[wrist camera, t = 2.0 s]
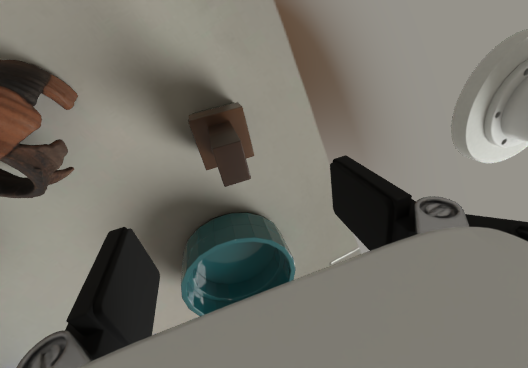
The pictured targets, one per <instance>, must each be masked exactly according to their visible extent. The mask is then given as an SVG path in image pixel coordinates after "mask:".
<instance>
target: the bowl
mask: <svg viewBox="0 0 528 368" xmlns="http://www.w3.org/2000/svg"><path fill="white" fill-rule="evenodd" d="M294 275H295V265H294V260H293V257H292V255H291V253H290V251H289V249H288V247H287V245H286V243H285V241H284V239H283V237H282V235H281V233H280V231H279V230H278V229H277V227H276V226H275V225H274V223H272V222H271V221H269V220H267V219H266V218H264V217H262V216H259V215H255V214H251V213H232V214H227V215H224V216H221V217H218V218H215V219H213V220H211V221H209V222H208V223H206V224H204V225H203V226H201V227H200V228H199V229H197V230H196V232H195V233H194V234H193V235H192V236H191V237H190V239H189V240H188V241H187V244H186V247H185V250H184V252H183V262H182V277H181V291H182V298H183V300H184V302H185V303H186V305H187V307H188V308H189V309H190V310H191V311H193V312H194V313H196V314H197V315H199V316H203V315H205V314H208V313H210V312H213V311H215V310H218V309H220V308H223V307H225V306H228V305H231V304H233V303H236V302H238V301H241V300H243V299H246V298H249V297H251V296H254V295H256V294H259V293H261V292H264V291H267V290H269V289H272V288H274V287H277V286H279V285H282V284H285V283H287V282H290V281H292V280H293V279H294Z"/></svg>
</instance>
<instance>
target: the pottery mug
mask: <svg viewBox="0 0 528 368" xmlns="http://www.w3.org/2000/svg"><path fill="white" fill-rule="evenodd" d="M41 93H42V94H44V95H46V96H47V97H49V98H51V99H52V100H54V101H55V102H57V103H58V104H59V105H61V106H62V107H63V108H64V109H66V110H69V109H71V108H72V107H73V106H74V102H75V101H76V99H77V97H78V95H77V93H76V92H75V91H74V90H73V89H72V88H71V87H70V86H68V85H67V84H66V83H64V82H63V81H62V80H60V79H58V78H57V77H55V76H54V75H52V74H50V73H49V72H47V71H45V70H43V69H41V68H39V67H37V66H35V65H32V64H28V63H25V62H22V61H17V60H0V160H1V161H3V162H4V163H6V164H8V165H10V166H12V167H13V168H15V169H17V170H19V171H20V172H22V173H23V174H24V175H26V176H27V177H28V178H22V177H18V176H15V175H13V174H11V173H9V172H7V171H4V170H2V169H0V196H1V197H9V198H33V197H37V196H40V195H42V194H44V193H45V191H46V189H47V186H48V185H50V184H53V183H56V182H58V181H60V180H62V179H63V178H65V177H66V176H68V175H69V174H70V173H71V172H72V171H73V170H74V168H73V167H69V168H66V169H63V170H57V169H59V168H60V166H61V165H62V163H63V159H64V156H65V155H66V154H67V153H68V149H67V147H66V145H65V143H64V142H63V141H62V140H60V139H59V140H56V141H54V142H52V143H51V144H50V145H47V144H44V145H22V144H19V143H20V142H21V141H22V140H24V139H25V138H26V137H27V136H28V135H30V134H31V133H32V132H33V131H35V130H37V129H38V128H40V126H41V121H42V119H41V115H40V114H39V113H38V111H37V110H36V109H35V108H34V107H33V106H35V105H36V103H37V99H38V97H39V95H40V94H41Z"/></svg>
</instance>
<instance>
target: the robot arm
mask: <svg viewBox="0 0 528 368" xmlns="http://www.w3.org/2000/svg"><path fill="white" fill-rule="evenodd" d="M484 131H485V135H486V138H487V139H488V141H489V142H490V143H491V144H493V145H496V146H499V147H505V148H507V147H513V146H516V145H519V144H521V143H523V142H525V141H526V142H528V59H527V60H526V61H525V62H523V63H522V64H520V65H519V66H518V67H517V68H516V69H515V70H514V71H512V72H511V73H510V75H509V76H508V77H507V78H506V79H505V80H504V81H503V83H502V84H501V85H500V87H499V88H498V90H497V91H496V93H495V95H494V97H493V98H492V100H491V102H490V105H489V107H488V110H487V113H486V116H485V123H484ZM330 171H331V185H332V199H333V210H334V212H335V214H336V215H337V216H338V217H339V218H340V220H341V221H342V222H343V223H344V224H345V225H346V226H347V227H348V228H349V229H350V230H351V231H352V232H353V233H354V234H355V235H356V237H358V239H359V240H360V241H361V242H362V243H363V244H364V245H365V246H366V247H367V248H368V249H369V250H370V251H369V252H366V253H363V254H360V255H358V256H355V257H353V258H350V259H347V260H345V261H342V262H339V263H337V264H334V265H332V266H329V267H326V268H324V269H321V270H318V271H316V272H313V273H311V274H308V275H305V276H303V277H300V278H298V279H295V280H292V281H290V282H287V283H285V284H282V285H279V286H277V287H274V288H272V289H269V290H267V291H264V292H261V293H259V294H256V295H254V296H251V297H249V298H246V299H243V300H241V301H238V302H236V303H233V304H231V305H228V306H225V307H223V308H220V309H218V310H215V311H213V312H210V313H208V314H205V315H203V316H200V317H198V318H195V319H192V320H190V321H187V322H185V323H182V324H180V325H177V326H175V327H172V328H170V329H167V330H165V331H162V332H160V333H157V334H155V335H152V330H153V323H154V316H155V309H156V301H157V294H158V287H159V280H160V274H159V271H158V269H157V267H156V266H155V264H154V263H153V261H152V260H151V258H150V256H149V255H148V253H147V252H146V250H145V249H144V247H143V246H142V244H141V242H140V241H139V239H138V238H137V236H136V235H135V233H134V232H133V230H132V229H127V228H126V227H122V228H119V229H116V230H113V231H110V232H109V233H108V234H107V237H106V239H105V241H104V243H103V245H102V247H101V249H100V251H99V253H98V255H97V258H96V260H95V262H94V264H93V266H92V268H91V270H90V272H89V274H88V276H87V279H86V281H85V283H84V285H83V287H82V289H81V291H80V293H79V295H78V297H77V300H76V302H75V304H74V306H73V308H72V310H71V312H70V314H69V316H68V318H67V320H66V321H67V322H68V325H67V327H66V330H65V331H59V332H55V333H53V334H51V335H49V336H47V337H45V338H44V339H43V340H41V341H40V342H39V343H37V344H36V345H35V346H34V347H33V348H32V349H31V350H30V351H28V353H27V354H26V355H25V356H24V357H23V359H22V360H21V361H20V363H19V364H18V366H17V367H16V368H528V222H522V221H515V220H507V219H499V218H491V217H483V216H475V215H467V214H465V213H464V210H463V209H462V207H461V206H460V205H459V204H457V203H456V202H454V201H452V200H450V199H446V198H443V197H424V198H421V199H419V200H418V201H417V202H416V201H414V200H412V199H411V197H412V196H411V195H410V194H408V193H406V192H405V191H403V190H402V189H400V188H398V187H396V186H395V185H393V184H392V183H390V182H389V181H387V180H385V179H384V178H382V177H380V176H378V175H377V174H375V173H374V172H372V171H370V170H369V169H367V168H366V167H364V166H362V165H361V164H359V163H357V162H356V161H354V160H353V159H351V158H349V157H348V156H342V157H339V158H336V159H334V160H333V163H331V164H330Z"/></svg>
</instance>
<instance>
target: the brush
mask: <svg viewBox="0 0 528 368" xmlns="http://www.w3.org/2000/svg"><path fill="white" fill-rule="evenodd" d="M188 122H189V125H190V128H191V130H192V133H193V136H194V139H195V141H196V144H197V147H198V149H199V152H200V155H201V157H202V160H203V163H204V165H205V168H206V170H209V169H212V168H216V167H218V169H219V172H220V175H221V178H222V181H223V184H224V186H225V187H226V186H229V185H232V184H236V183H239V182H242V181H245V180H249V179H251V176H250V173H249V169H248V165H247V162H246V158H249V157H252V156H254V152H253V148H252V144H251V140H250V136H249V132H248V128H247V124H246V120H245V116H244V112H243V108H242V106H241V105H240V104H239V103H238V102H237V103H230V104H227V105H223V106H219V107H215V108H212V109H208V110H204V111H200V112H197V113H193V114H192V115H189V119H188Z"/></svg>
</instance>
